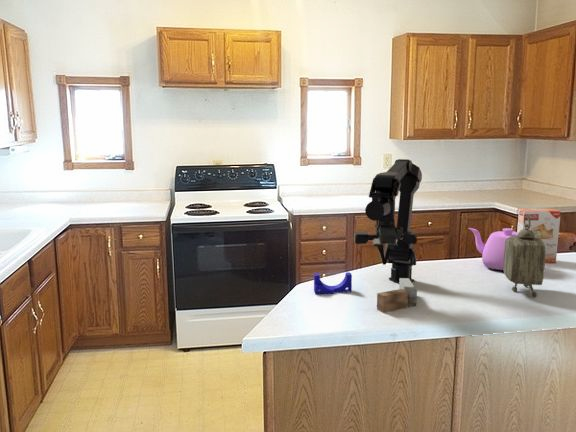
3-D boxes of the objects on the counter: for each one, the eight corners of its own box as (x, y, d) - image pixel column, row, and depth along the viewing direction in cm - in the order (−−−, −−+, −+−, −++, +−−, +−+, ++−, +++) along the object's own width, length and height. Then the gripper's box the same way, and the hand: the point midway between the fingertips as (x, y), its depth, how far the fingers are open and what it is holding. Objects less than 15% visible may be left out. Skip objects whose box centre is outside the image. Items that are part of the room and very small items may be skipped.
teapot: (535, 263, 201) (538, 225, 199) (524, 276, 184) (527, 235, 182) (475, 255, 214) (477, 220, 212) (460, 267, 197) (462, 228, 195)
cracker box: (520, 263, 202) (524, 210, 198) (514, 259, 208) (517, 208, 204) (557, 263, 201) (561, 210, 198) (550, 259, 207) (554, 208, 204)
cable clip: (315, 295, 166) (315, 277, 165) (313, 290, 171) (314, 273, 170) (352, 294, 167) (352, 276, 166) (349, 289, 172) (350, 272, 170)
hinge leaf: (417, 306, 154) (418, 291, 153) (404, 306, 154) (405, 290, 153) (409, 292, 167) (410, 278, 166) (397, 292, 167) (398, 278, 166)
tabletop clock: (541, 299, 160) (548, 220, 156) (510, 297, 162) (516, 219, 157) (530, 285, 174) (535, 212, 170) (501, 284, 176) (506, 211, 171)
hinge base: (410, 302, 158) (411, 286, 158) (419, 305, 155) (419, 289, 154) (376, 309, 153) (376, 292, 152) (384, 313, 149) (384, 296, 148)
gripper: (356, 220, 151) (356, 271, 154) (421, 220, 150) (419, 271, 153) (354, 213, 162) (353, 261, 165) (414, 213, 161) (412, 262, 164)
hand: (384, 264), depth 161 cm, fingers closed
